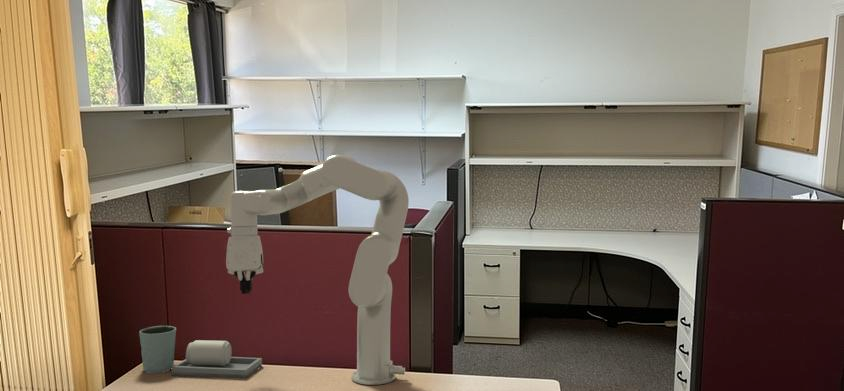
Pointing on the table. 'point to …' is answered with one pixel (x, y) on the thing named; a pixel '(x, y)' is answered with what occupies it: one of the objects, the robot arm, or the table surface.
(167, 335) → the green cup
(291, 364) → the table surface
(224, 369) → the tray
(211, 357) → the can
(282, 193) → the robot arm
